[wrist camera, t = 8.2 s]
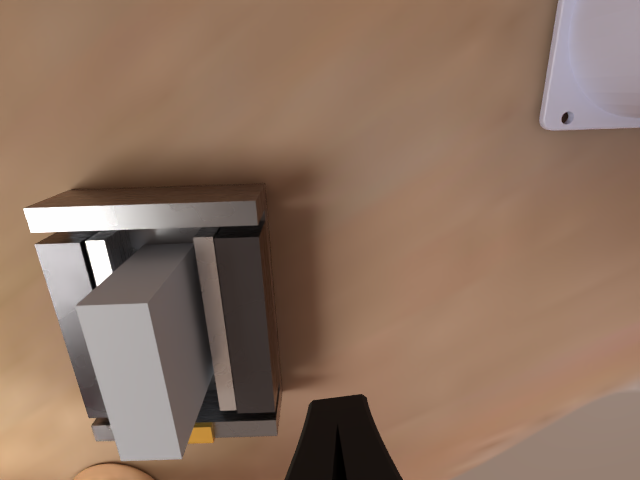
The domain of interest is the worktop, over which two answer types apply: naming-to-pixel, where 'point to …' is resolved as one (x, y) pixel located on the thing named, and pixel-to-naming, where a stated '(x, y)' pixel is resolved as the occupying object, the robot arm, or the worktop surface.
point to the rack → (215, 279)
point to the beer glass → (112, 473)
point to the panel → (150, 350)
